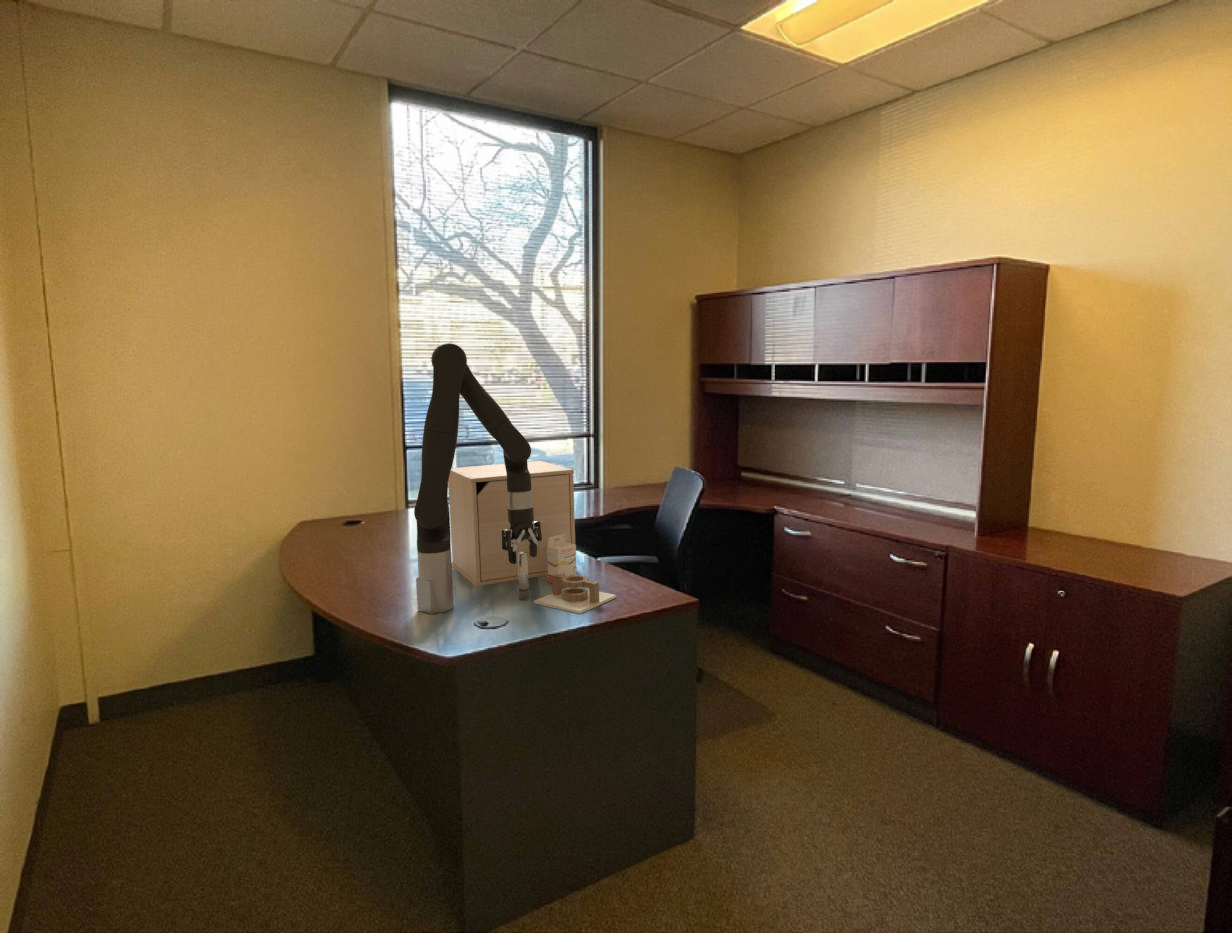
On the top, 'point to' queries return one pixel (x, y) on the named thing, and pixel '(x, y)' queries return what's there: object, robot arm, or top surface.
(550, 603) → the dock
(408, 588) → the top surface
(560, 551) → the ink cartridge box
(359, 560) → the top surface
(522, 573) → the tube
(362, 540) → the top surface
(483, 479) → the cabinet
